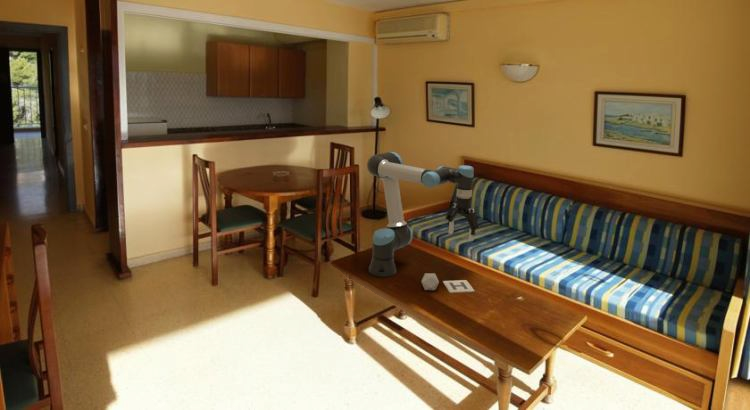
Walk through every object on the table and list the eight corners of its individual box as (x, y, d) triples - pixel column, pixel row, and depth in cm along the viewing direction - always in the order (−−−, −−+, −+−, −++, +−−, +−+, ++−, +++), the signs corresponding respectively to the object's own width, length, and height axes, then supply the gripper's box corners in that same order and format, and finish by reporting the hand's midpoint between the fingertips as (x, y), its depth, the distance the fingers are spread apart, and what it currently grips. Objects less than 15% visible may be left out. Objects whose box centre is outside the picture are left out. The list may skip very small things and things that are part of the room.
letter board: (449, 292, 247) (450, 291, 247) (442, 282, 260) (442, 280, 260) (474, 291, 249) (474, 290, 249) (466, 281, 262) (466, 280, 262)
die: (433, 295, 245) (444, 278, 246) (418, 286, 246) (429, 269, 247) (431, 294, 254) (441, 277, 255) (416, 284, 254) (426, 268, 255)
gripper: (440, 192, 250) (437, 231, 256) (478, 203, 232) (474, 245, 238) (450, 190, 255) (447, 229, 261) (488, 201, 236) (484, 242, 242)
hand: (460, 237), depth 249 cm, fingers open, 13 cm apart
